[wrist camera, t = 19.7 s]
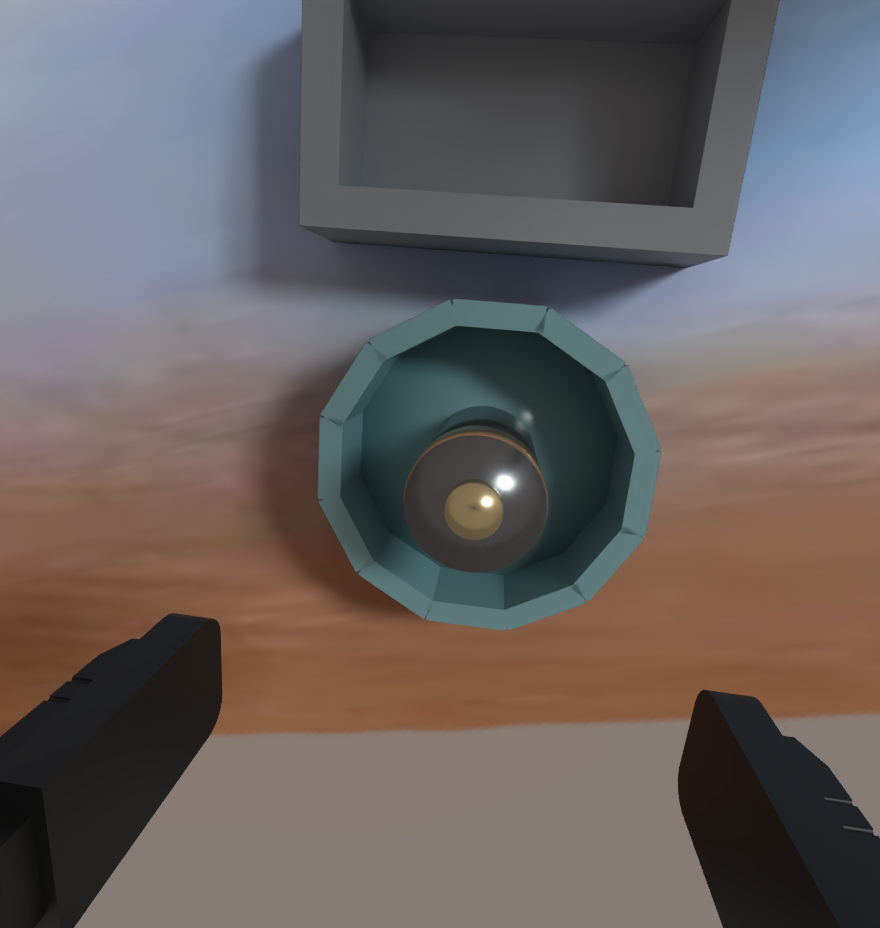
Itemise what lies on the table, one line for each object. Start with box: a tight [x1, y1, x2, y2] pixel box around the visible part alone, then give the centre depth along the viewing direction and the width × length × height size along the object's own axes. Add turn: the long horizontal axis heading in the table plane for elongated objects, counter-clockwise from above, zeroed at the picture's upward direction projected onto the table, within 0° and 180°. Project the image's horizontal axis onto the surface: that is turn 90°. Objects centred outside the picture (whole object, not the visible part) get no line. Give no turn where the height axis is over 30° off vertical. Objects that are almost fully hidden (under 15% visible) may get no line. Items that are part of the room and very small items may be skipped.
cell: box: [404, 406, 548, 573], centre depth 22 cm, size 5×5×8 cm
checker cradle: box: [299, 0, 779, 268], centre depth 21 cm, size 10×16×4 cm, turn 85°
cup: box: [318, 299, 661, 631], centre depth 25 cm, size 14×14×4 cm
